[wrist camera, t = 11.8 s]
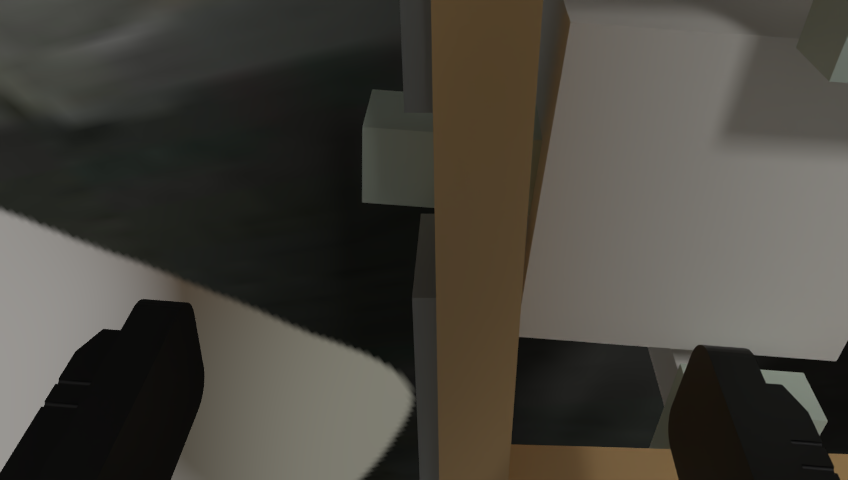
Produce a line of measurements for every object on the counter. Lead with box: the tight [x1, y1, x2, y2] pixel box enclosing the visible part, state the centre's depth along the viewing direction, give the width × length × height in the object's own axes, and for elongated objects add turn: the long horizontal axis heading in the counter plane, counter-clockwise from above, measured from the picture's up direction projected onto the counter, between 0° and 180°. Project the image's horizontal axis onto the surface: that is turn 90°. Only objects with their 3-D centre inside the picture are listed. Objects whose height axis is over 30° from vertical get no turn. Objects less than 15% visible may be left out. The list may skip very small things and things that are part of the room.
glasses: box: [400, 0, 848, 480], centre depth 14 cm, size 16×14×4 cm
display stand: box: [362, 0, 848, 449], centre depth 20 cm, size 20×15×15 cm
